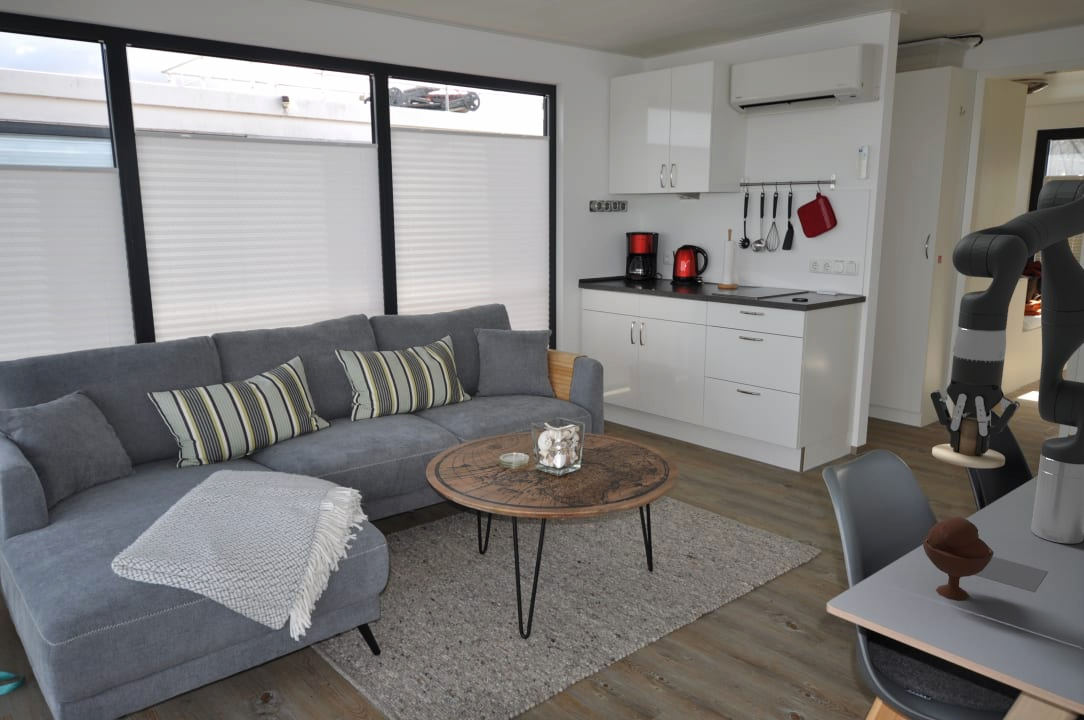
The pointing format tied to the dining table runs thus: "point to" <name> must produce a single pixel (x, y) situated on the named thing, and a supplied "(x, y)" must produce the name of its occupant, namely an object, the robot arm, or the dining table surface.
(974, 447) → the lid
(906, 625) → the dining table surface
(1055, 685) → the dining table surface
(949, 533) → the ice cream bowl
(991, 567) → the mat
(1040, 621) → the dining table surface
